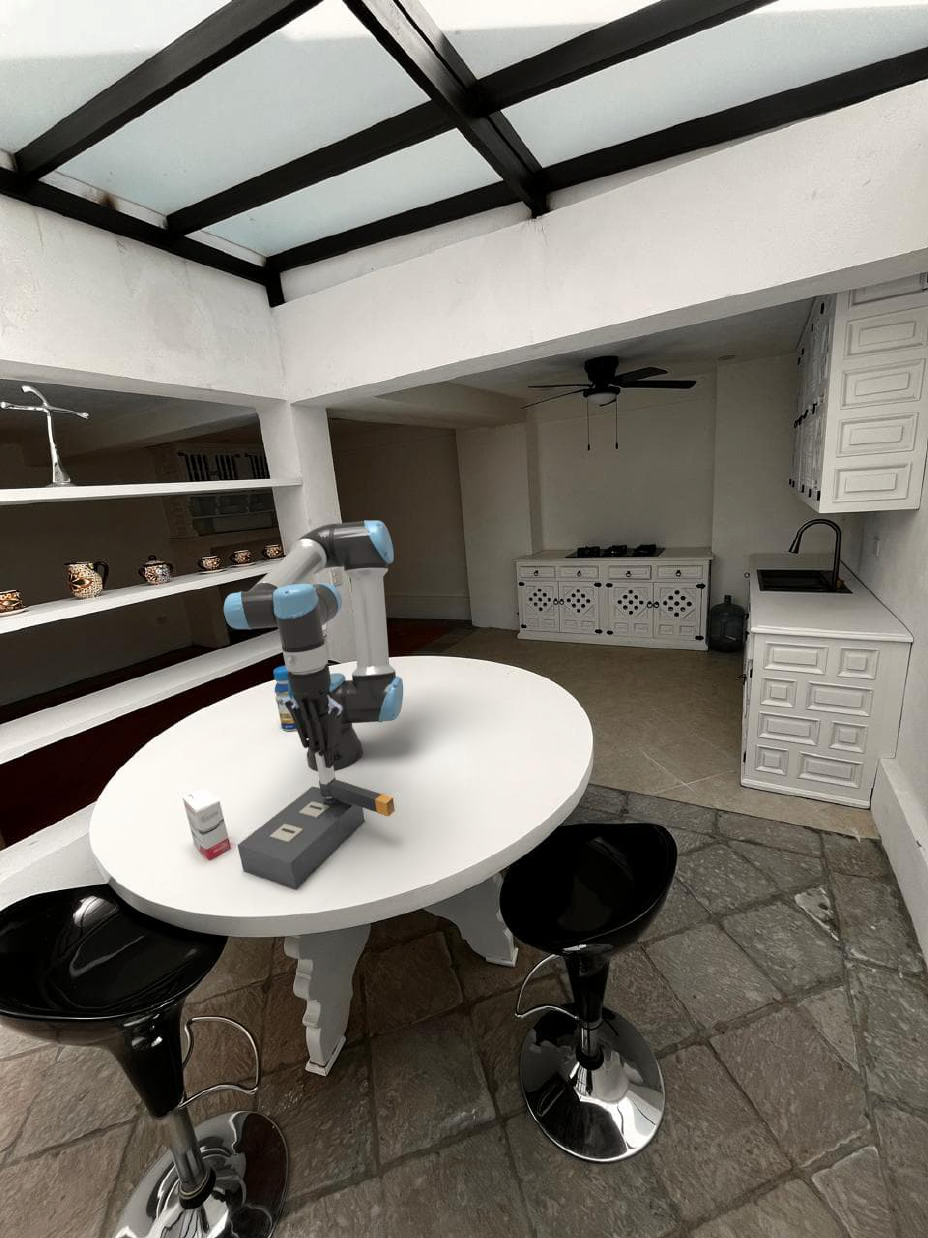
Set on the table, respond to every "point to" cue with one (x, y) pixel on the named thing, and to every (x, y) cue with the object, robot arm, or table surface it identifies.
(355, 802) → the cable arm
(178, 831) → the table surface
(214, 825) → the ink box
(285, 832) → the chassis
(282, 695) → the beverage bottle
